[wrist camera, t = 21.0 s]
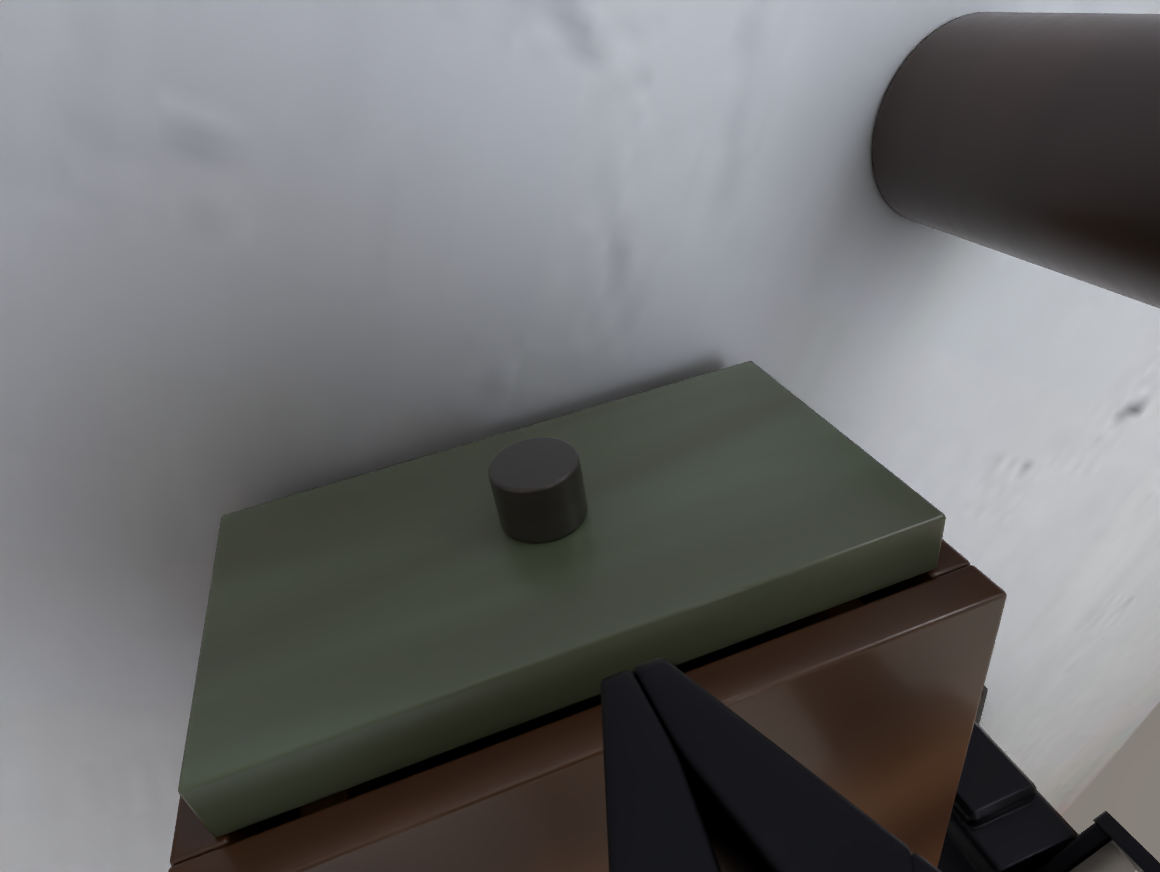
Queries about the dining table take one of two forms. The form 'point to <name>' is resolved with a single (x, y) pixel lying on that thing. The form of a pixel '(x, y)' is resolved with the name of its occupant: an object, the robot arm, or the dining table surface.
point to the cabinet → (740, 681)
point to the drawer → (525, 585)
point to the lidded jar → (1034, 141)
